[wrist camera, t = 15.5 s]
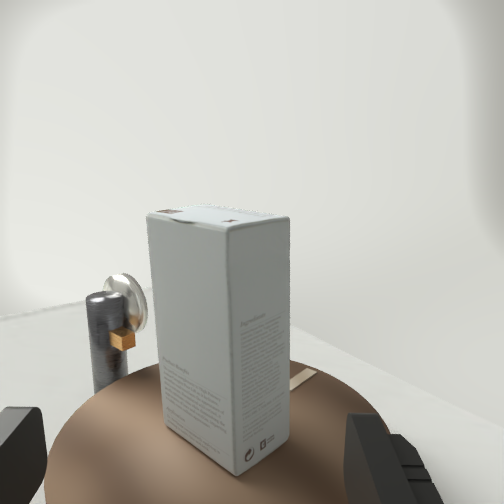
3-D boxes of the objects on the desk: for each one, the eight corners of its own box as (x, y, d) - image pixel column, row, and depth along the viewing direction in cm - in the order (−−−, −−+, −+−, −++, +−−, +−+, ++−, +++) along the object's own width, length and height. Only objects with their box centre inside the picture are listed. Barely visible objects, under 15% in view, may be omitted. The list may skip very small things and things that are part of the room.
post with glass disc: (156, 402, 32) (149, 281, 29) (118, 422, 29) (108, 293, 27) (118, 379, 35) (110, 267, 32) (81, 395, 32) (70, 277, 30)
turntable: (232, 802, 12) (232, 740, 12) (-11, 478, 24) (-18, 439, 23) (445, 458, 25) (450, 420, 25) (223, 357, 37) (223, 330, 36)
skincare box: (292, 438, 23) (301, 213, 20) (232, 486, 20) (231, 227, 17) (215, 393, 27) (212, 200, 24) (154, 426, 24) (143, 209, 21)
